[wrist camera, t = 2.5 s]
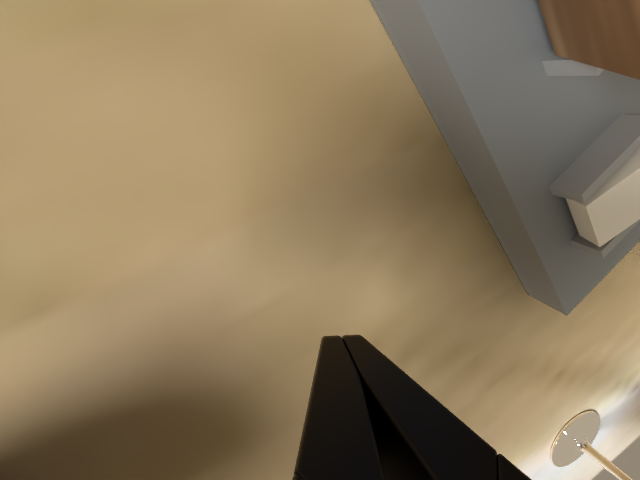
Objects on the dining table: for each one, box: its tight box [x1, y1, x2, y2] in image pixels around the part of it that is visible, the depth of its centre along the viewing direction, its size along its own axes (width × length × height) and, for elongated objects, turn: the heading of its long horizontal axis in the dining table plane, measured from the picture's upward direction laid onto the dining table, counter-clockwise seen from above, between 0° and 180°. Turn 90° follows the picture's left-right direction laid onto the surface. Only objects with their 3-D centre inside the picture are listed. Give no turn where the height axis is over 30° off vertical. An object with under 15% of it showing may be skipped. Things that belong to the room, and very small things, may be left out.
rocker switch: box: [566, 148, 640, 247], centre depth 21 cm, size 5×3×1 cm, turn 128°
